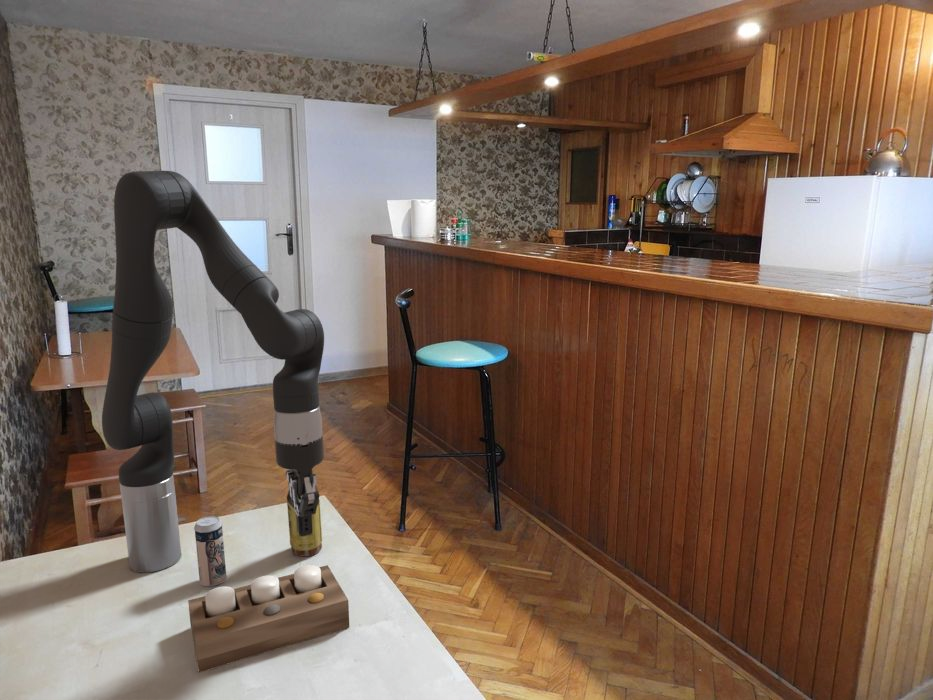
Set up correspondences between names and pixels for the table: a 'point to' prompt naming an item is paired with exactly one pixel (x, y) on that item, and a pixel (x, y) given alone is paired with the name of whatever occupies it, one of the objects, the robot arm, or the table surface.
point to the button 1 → (220, 601)
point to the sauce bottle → (309, 542)
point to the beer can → (210, 551)
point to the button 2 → (265, 590)
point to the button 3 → (307, 579)
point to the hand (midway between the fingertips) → (305, 533)
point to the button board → (267, 621)
